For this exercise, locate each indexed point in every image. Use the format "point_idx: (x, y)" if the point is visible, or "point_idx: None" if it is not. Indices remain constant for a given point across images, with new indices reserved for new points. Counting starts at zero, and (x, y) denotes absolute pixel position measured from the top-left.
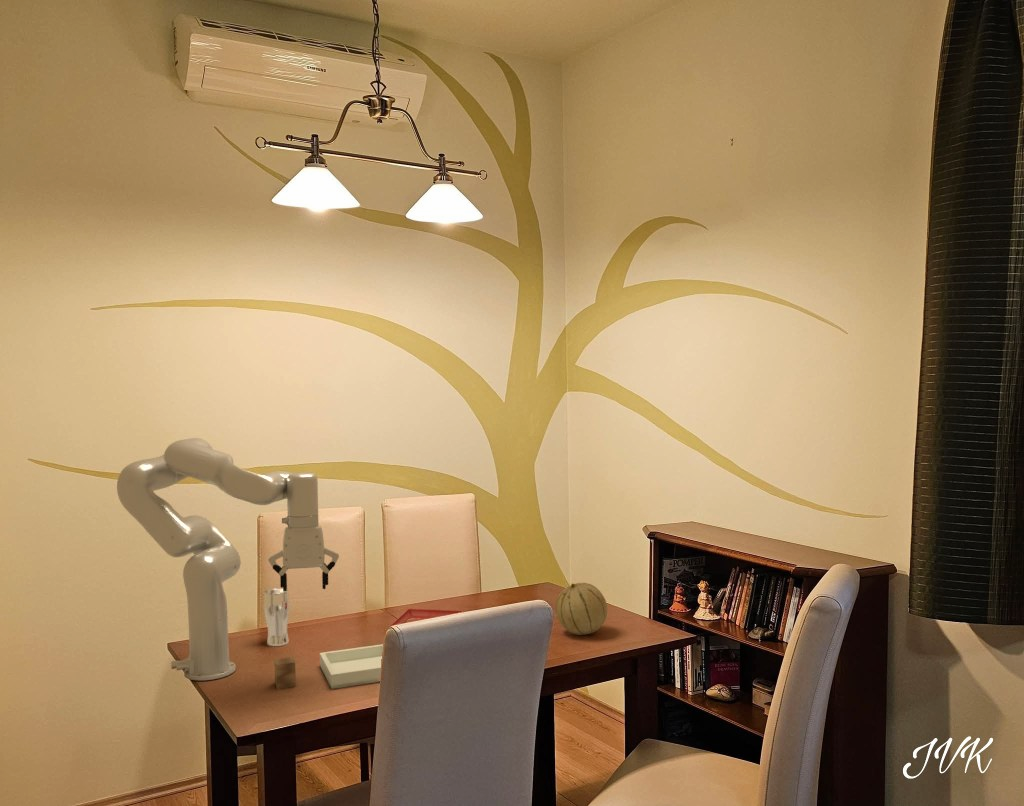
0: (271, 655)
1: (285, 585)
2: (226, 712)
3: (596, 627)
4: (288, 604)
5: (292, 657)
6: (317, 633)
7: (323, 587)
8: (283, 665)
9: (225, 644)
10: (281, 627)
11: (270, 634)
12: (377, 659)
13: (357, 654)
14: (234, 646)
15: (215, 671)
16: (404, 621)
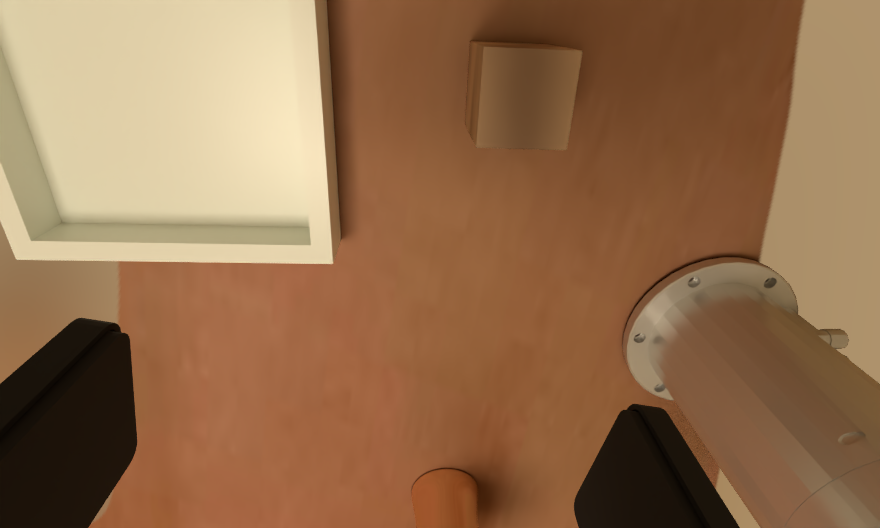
0: (485, 404)
1: (667, 465)
2: None
3: None
4: None
5: (480, 137)
6: (317, 524)
7: (96, 330)
8: (544, 48)
9: (722, 366)
10: (439, 525)
11: (472, 511)
12: (89, 184)
13: (172, 232)
14: (566, 504)
15: (718, 287)
16: None
